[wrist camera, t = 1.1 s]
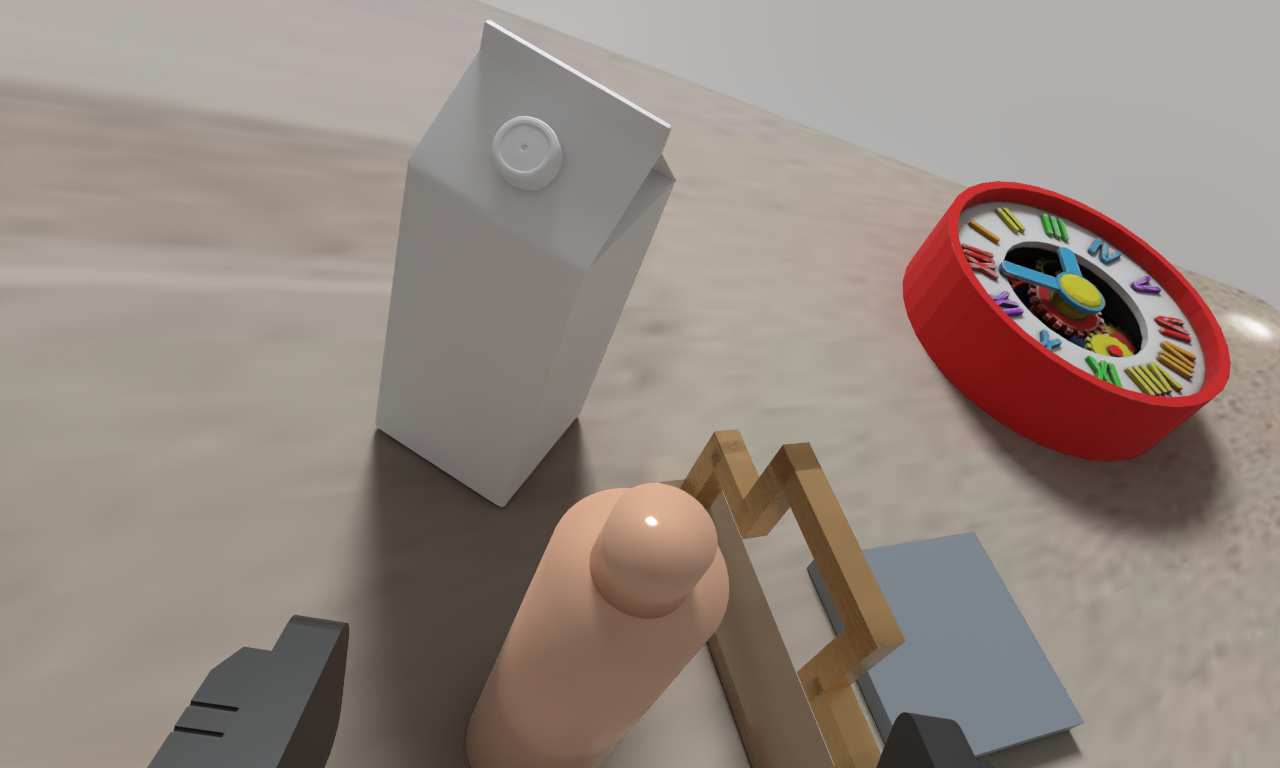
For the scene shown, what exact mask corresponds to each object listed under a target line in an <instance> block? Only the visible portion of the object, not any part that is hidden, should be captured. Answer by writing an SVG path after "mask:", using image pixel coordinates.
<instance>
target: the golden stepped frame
mask: <svg viewBox="0 0 1280 768" xmlns="http://www.w3.org/2000/svg"><path fill="white" fill-rule="evenodd" d="M661 484H666V485H670V486H674V487H676V488H679V489H681V490H683V491H685V492H686V493H688V494H689V495H691V496H692V497H694V498H695V499H696V500H697V501H698V502H699V503H700V504H701V505H702V506H703V507H704V508H705V510H706V511H707V512H708V514H709V515H710V517H711V519H712V521H713V523H714V526H715V529H716V533H717V540H718V546H719V548H720V550H721V553H722V555H723V557H724V560H725V564H726V567H727V572H728V577H729V599H728V604H727V608H726V612H725V614H724V617H723V619H722V621H721V623H720V625H719V626H718V628H717V630H716V631H715V632H714V633H713V635H712V636H711V637H710V638H709V640H708V641H707V643H708V646H709V649H710V651H711V654H712V657H713V660H714V663H715V665H716V668H717V671H718V674H719V677H720V679H721V682H722V685H723V688H724V691H725V693H726V696H727V699H728V702H729V705H730V708H731V710H732V713H733V716H734V719H735V722H736V724H737V727H738V730H739V733H740V736H741V738H742V741H743V744H744V747H745V750H746V753H747V755H748V758H749V761H750V764H751V767H752V768H876V767H877V764H878V762H879V759H880V757H881V754H880V752H879V749H878V747H877V745H876V742H875V740H874V738H873V736H872V733H871V731H870V729H869V727H868V724H867V722H866V720H865V717H864V715H863V713H862V711H861V708H860V706H859V704H858V701H857V699H856V697H855V695H854V692H853V690H852V688H851V684H852V683H854V682H855V681H856V680H857V679H859V678H860V677H861V676H863V675H864V674H865V673H866V672H868V671H869V670H870V669H871V668H873V667H874V666H875V665H877V664H878V663H879V662H880V661H882V660H883V659H884V658H885V657H887V656H888V655H889V654H891V653H892V652H893V651H894V650H896V649H897V648H898V647H899V646H901V645H902V644H903V643H905V642H906V640H905V638H904V636H903V634H902V632H901V630H900V628H899V626H898V624H897V622H896V620H895V618H894V616H893V614H892V612H891V610H890V608H889V606H888V603H887V601H886V599H885V597H884V595H883V593H882V591H881V589H880V587H879V585H878V583H877V581H876V579H875V577H874V575H873V573H872V571H871V569H870V567H869V565H868V563H867V560H866V558H865V556H864V554H863V552H862V550H861V548H860V546H859V544H858V542H857V540H856V538H855V536H854V534H853V532H852V530H851V528H850V526H849V524H848V522H847V520H846V518H845V515H844V513H843V511H842V509H841V507H840V505H839V503H838V501H837V499H836V497H835V495H834V493H833V491H832V489H831V487H830V485H829V483H828V481H827V479H826V477H825V475H824V472H823V470H822V468H821V466H820V464H819V462H818V460H817V458H816V456H815V454H814V452H813V450H812V448H811V446H810V444H809V442H808V443H798V444H788V445H783V446H782V447H781V448H780V450H779V451H778V452H777V454H776V455H775V457H774V458H773V459H772V461H771V462H770V463H769V465H768V466H767V468H766V469H765V470H764V472H763V473H762V474H761V476H760V477H759V476H758V473H757V471H756V469H755V467H754V464H753V462H752V460H751V457H750V455H749V453H748V451H747V448H746V446H745V444H744V441H743V439H742V437H741V435H740V432H739V430H738V429H737V430H725V431H715V432H714V433H713V435H712V437H711V438H710V440H709V441H708V443H707V445H706V446H705V448H704V450H703V451H702V453H701V454H700V456H699V458H698V459H697V461H696V463H695V464H694V466H693V467H692V469H691V471H690V472H689V474H688V476H687V477H686V479H685V480H676V481H667V482H661ZM722 490H723V492H724V495H725V497H726V499H727V502H728V504H729V507H730V509H731V512H732V514H733V517H734V519H735V522H736V524H737V526H738V529H739V531H740V534H741V536H742V539H746V538H753V537H760V536H767V535H768V534H769V532H770V531H771V530H772V529H773V527H774V526H775V525H776V524H777V522H778V521H779V520H780V519H781V517H782V516H783V515H784V514H785V513H786V511H787V510H788V509H789V508H790V507H791V509H792V511H793V514H794V516H795V518H796V520H797V522H798V525H799V527H800V529H801V531H802V534H803V536H804V538H805V540H806V542H807V545H808V547H809V549H810V551H811V553H812V556H813V558H814V560H815V562H816V565H817V567H818V569H819V571H820V573H821V576H822V578H823V580H824V582H825V584H826V587H827V589H828V591H829V593H830V596H831V598H832V600H833V602H834V604H835V607H836V609H837V611H838V613H839V615H840V618H841V620H842V622H843V624H844V626H845V630H844V631H843V632H841V633H840V634H839V635H838V636H837V637H836V638H835V639H834V640H832V641H831V642H830V643H829V644H828V645H827V646H826V647H825V648H824V649H822V650H821V651H820V652H819V653H818V654H817V655H816V656H815V657H813V658H812V659H811V660H810V661H809V662H808V663H807V664H806V665H804V666H803V667H802V668H801V669H800V670H799V671H798V672H797V674H798V676H799V679H800V681H801V684H802V686H803V689H804V691H805V693H806V696H807V698H808V701H809V703H810V706H811V708H812V711H813V713H814V716H815V718H816V720H817V723H818V725H819V728H820V730H821V733H822V735H823V738H824V740H825V743H826V745H827V747H828V750H829V752H830V755H831V757H832V760H833V762H834V765H835V766H833V763H832V761H831V758H830V756H829V753H828V751H827V749H826V746H825V744H824V741H823V739H822V736H821V734H820V731H819V729H818V726H817V724H816V721H815V719H814V717H813V714H812V712H811V709H810V707H809V704H808V702H807V699H806V697H805V694H804V692H803V689H802V687H801V685H800V682H799V680H798V677H797V675H796V672H795V670H794V667H793V665H792V662H791V660H790V657H789V655H788V653H787V650H786V648H785V645H784V643H783V640H782V638H781V635H780V633H779V630H778V628H777V626H776V623H775V621H774V618H773V616H772V613H771V611H770V608H769V606H768V603H767V601H766V598H765V596H764V594H763V591H762V589H761V586H760V584H759V581H758V579H757V576H756V574H755V571H754V569H753V566H752V564H751V562H750V559H749V557H748V554H747V552H746V549H745V547H744V544H743V542H742V539H741V537H740V534H739V532H738V530H737V527H736V525H735V522H734V520H733V517H732V515H731V512H730V510H729V507H728V505H727V502H726V500H725V498H724V495H723V493H722Z"/></svg>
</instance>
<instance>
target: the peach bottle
mask: <svg viewBox="0 0 1280 768" xmlns="http://www.w3.org/2000/svg"><path fill="white" fill-rule="evenodd" d="M728 599H729V577H728V572H727V567H726V564H725V560H724V557H723V555H722V553H721V550H720V548H719V546H718V540H717V533H716V529H715V526H714V523H713V521H712V519H711V517H710V515H709V514H708V512H707V511H706V510H705V508H704V507H703V506H702V505H701V504H700V503H699V502H698V501H697V500H696V499H695V498H694V497H692V496H691V495H689V494H688V493H686V492H685V491H683V490H681V489H679V488H676V487H674V486H670V485H666V484H661V483H647V484H641V485H638V486H635V487H633V488H615V489H609V490H604V491H600V492H597V493H594V494H592V495H590V496H587V497H585V498H583V499H582V500H580V501H579V502H577V503H576V504H575V505H574V506H572V507H571V508H570V509H569V510H568V511H567V512H566V513H565V515H564V516H563V517H562V518H561V520H560V521H559V523H558V525H557V526H556V528H555V530H554V532H553V535H552V537H551V539H550V541H549V544H548V546H547V548H546V550H545V553H544V555H543V557H542V559H541V561H540V564H539V566H538V568H537V570H536V573H535V575H534V577H533V579H532V582H531V584H530V586H529V588H528V590H527V593H526V595H525V597H524V599H523V602H522V604H521V606H520V608H519V611H518V613H517V615H516V617H515V619H514V622H513V624H512V626H511V628H510V631H509V633H508V635H507V637H506V640H505V642H504V644H503V646H502V648H501V651H500V653H499V655H498V657H497V660H496V662H495V664H494V666H493V669H492V671H491V673H490V675H489V677H488V680H487V682H486V684H485V686H484V689H483V691H482V693H481V695H480V698H479V700H478V702H477V704H476V706H475V709H474V711H473V713H472V716H471V718H470V721H469V725H468V728H467V735H466V749H467V756H468V760H469V764H470V767H471V768H598V767H599V766H600V765H601V763H602V762H603V761H604V760H605V759H606V758H607V756H608V755H609V754H610V753H611V752H612V751H613V749H614V748H615V747H616V746H617V745H618V744H619V743H620V741H621V740H622V739H623V738H624V737H625V736H626V734H627V733H628V732H629V731H630V730H631V729H632V727H633V726H634V725H635V724H636V723H637V722H638V721H639V719H640V718H641V717H642V716H643V715H644V714H645V712H646V711H647V710H648V709H649V708H650V707H651V705H652V704H653V703H654V702H655V701H656V700H657V699H658V697H659V696H660V695H661V694H662V693H663V692H664V690H665V689H666V688H667V687H668V686H669V685H670V683H671V682H672V681H673V680H674V679H675V678H676V677H677V675H678V674H679V673H680V672H681V671H682V670H683V668H684V667H685V666H686V665H687V664H688V663H689V662H690V660H691V659H692V658H693V657H694V656H695V655H696V653H697V652H698V651H699V650H700V649H701V648H702V646H703V645H704V644H705V643H706V642H707V641H708V640H709V638H710V637H711V636H712V635H713V633H714V632H715V631H716V630H717V628H718V626H719V625H720V623H721V621H722V619H723V617H724V614H725V612H726V608H727V604H728Z"/></svg>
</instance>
